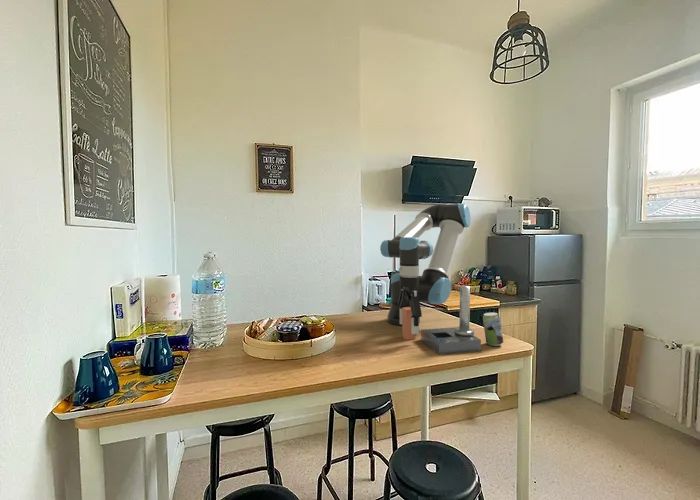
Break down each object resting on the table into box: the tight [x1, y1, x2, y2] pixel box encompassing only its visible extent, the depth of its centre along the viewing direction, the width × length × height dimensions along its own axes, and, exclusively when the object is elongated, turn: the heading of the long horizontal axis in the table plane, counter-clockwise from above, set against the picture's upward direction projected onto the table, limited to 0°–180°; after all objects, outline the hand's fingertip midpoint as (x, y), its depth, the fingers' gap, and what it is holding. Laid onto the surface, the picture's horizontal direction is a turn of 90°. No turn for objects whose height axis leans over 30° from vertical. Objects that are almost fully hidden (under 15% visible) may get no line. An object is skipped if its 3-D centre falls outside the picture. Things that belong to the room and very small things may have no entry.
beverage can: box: [482, 311, 504, 347], centre depth 131 cm, size 6×7×12 cm
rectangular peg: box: [401, 307, 416, 341], centre depth 139 cm, size 4×4×12 cm
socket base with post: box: [420, 285, 482, 355], centre depth 130 cm, size 16×18×22 cm
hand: (408, 328), depth 139 cm, fingers open, 13 cm apart
